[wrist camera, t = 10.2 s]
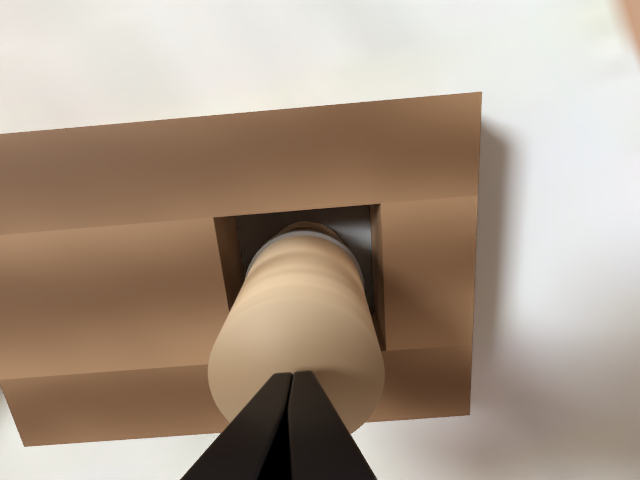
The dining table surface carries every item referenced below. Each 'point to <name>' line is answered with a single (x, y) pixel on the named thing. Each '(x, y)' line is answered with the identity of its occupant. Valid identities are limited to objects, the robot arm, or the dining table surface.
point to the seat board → (223, 256)
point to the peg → (300, 326)
